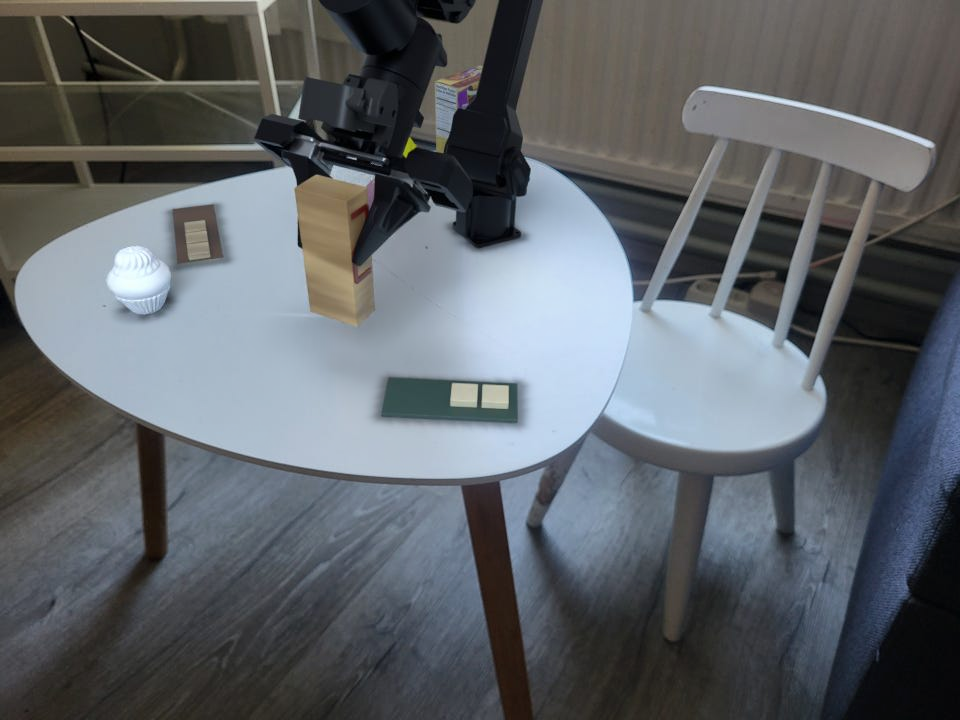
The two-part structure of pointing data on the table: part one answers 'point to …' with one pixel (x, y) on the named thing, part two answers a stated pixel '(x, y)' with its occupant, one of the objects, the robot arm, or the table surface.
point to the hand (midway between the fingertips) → (328, 256)
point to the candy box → (453, 100)
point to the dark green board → (450, 400)
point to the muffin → (139, 280)
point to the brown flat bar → (196, 234)
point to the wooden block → (335, 248)
